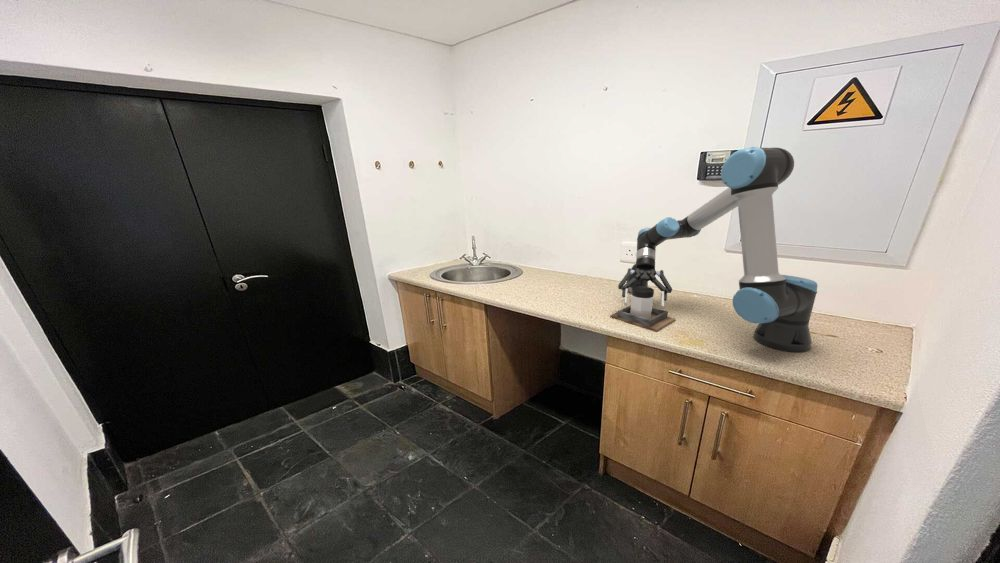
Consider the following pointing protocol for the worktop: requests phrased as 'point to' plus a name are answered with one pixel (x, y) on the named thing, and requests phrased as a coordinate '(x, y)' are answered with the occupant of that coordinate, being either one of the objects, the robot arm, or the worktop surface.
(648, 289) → the jar
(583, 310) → the worktop surface
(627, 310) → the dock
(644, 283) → the pump dispenser
